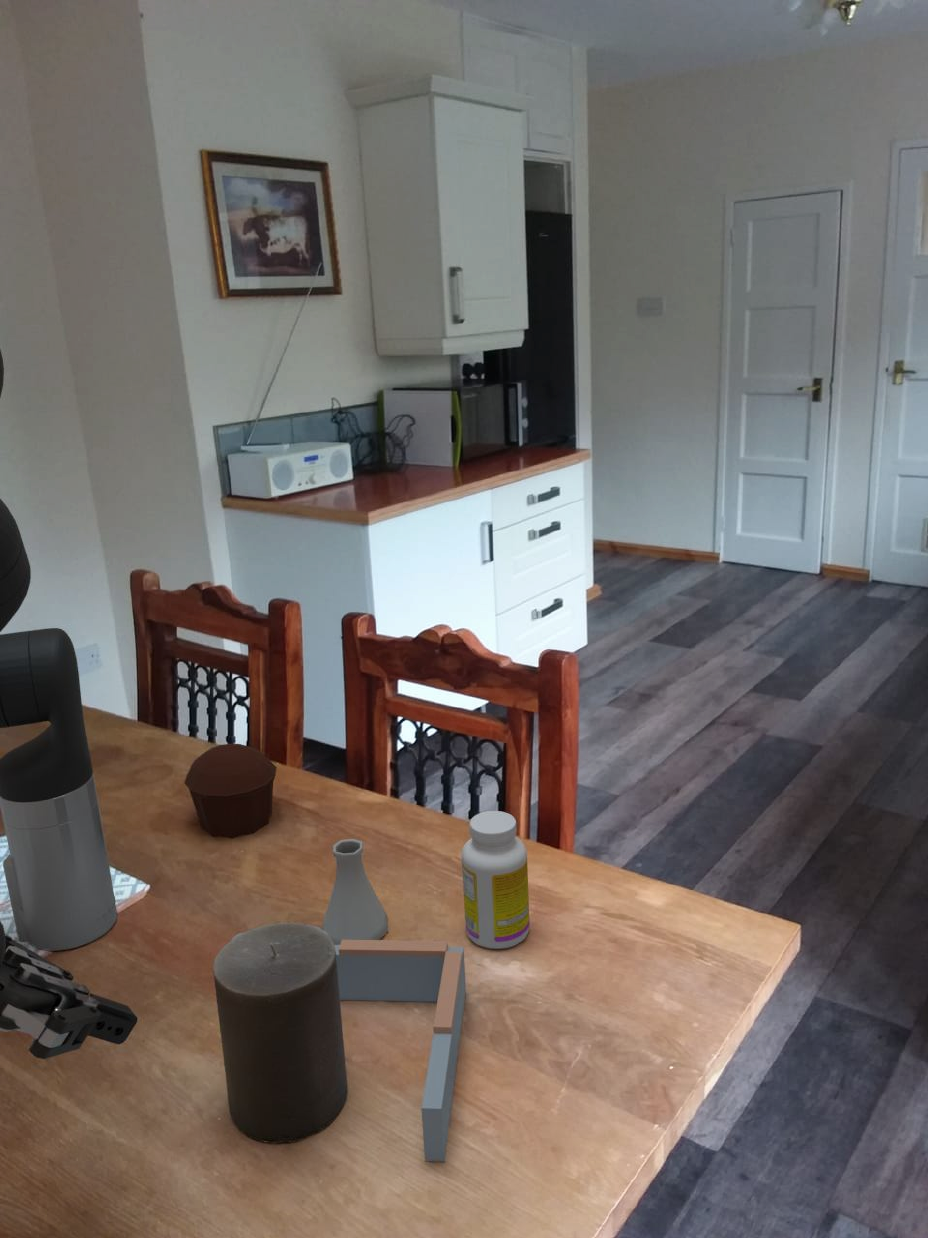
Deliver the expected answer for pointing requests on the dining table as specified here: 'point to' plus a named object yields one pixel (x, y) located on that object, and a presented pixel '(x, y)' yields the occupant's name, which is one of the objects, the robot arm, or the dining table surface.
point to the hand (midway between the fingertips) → (126, 1026)
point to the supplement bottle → (495, 882)
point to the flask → (353, 899)
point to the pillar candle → (281, 1031)
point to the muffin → (232, 790)
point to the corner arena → (417, 978)
